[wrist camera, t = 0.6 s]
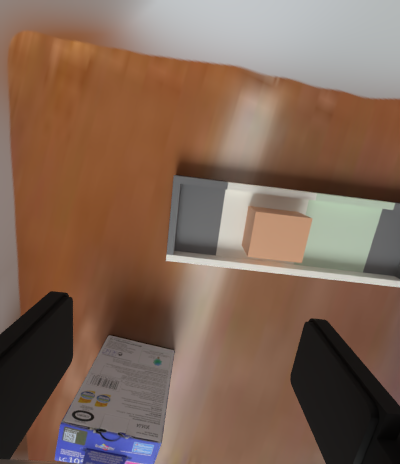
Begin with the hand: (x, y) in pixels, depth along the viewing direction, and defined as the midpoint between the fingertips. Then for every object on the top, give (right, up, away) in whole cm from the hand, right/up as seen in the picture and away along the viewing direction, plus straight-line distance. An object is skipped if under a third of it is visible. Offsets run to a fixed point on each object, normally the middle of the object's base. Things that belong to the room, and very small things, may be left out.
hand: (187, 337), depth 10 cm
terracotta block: (+9, +5, +20) cm, 23 cm away
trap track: (+12, +4, +21) cm, 24 cm away
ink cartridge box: (-8, -14, +26) cm, 30 cm away
